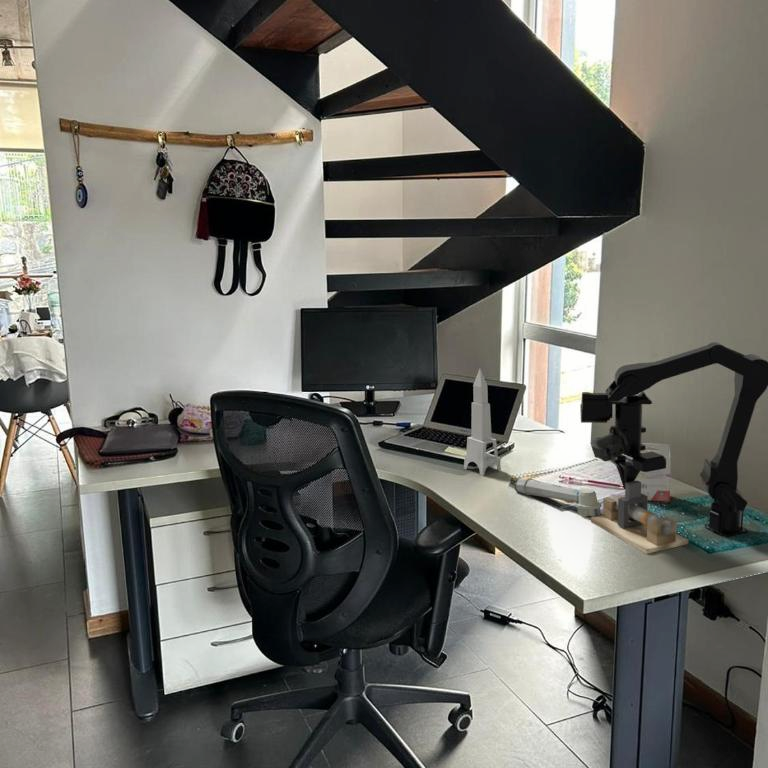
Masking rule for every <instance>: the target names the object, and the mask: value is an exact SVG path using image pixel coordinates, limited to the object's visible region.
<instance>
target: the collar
mask: <svg viewBox="0 0 768 768" xmlns="http://www.w3.org/2000/svg"><path fill="white" fill-rule="evenodd" d="M624 496H625V497H622V498H618V526H620V527H622V528H627V527H632V526H636V525H641V524H642V523H641V522H639V521H637V520H635V519H633V518H631V517H630V518H628V505H633V504H635V505H637V506H639V507H641V508H643V509H645V510H647V511H648V501H649V500H648V496H646V495H644V494H641V482H639V481H632V482H627V483H625V489H624Z"/></svg>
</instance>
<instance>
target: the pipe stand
mask: <svg viewBox="0 0 768 768" xmlns="http://www.w3.org/2000/svg"><path fill="white" fill-rule="evenodd" d="M622 497H625V495H623V494H617V495H616V494H613V493H611V494H610V495H609V496H606V497H603V499H602V500H603V501H602V503H603V504H602V515H599V516H596V517H590V523H592V524H594V525H596V526H598V527H599V528H601V529H603V530H604V531H605V532H608V533H610V534H611V535H613V536H615V537H617V538H618V539H620V540H622V541H623V542H625V543H627V545H628V544H629V545H631V546H632V547H634V548H636V549H637V550H639V551H640V552H643V553H644V554H646V555H647V554H652V553H655V552H661V551H664V550H667V549H672V548H676V547H681V546H686V545H688V544H689V539H688V538H687V537H684V536H682V535H680V534H678V533H677V521H676V520H674V519H672V518H671V517H668V516H664V517H661V516H659V515H658V514H655V513H653V512H652V511H650V510H648V509H647V510H645V509H643V508H641V507H639V506H637V504H633V505H628V518H630V517H631V518H633V519H635V520H637V521H639V522H641V523H642V524H641V525H636V526H632V527H627V528H622V527H620V526H618V498H622Z"/></svg>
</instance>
